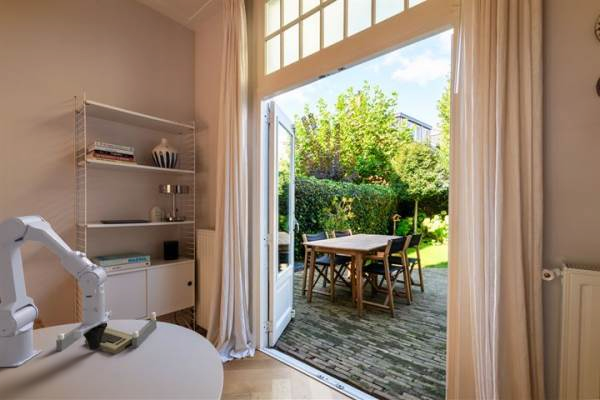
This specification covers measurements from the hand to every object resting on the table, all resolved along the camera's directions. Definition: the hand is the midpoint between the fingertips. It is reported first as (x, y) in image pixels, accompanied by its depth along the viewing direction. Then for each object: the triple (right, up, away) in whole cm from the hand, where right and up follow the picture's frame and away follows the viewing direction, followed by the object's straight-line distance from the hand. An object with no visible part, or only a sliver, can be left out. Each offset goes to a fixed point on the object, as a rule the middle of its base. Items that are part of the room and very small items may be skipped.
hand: (94, 348), depth 90 cm
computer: (+2, -2, +5) cm, 6 cm away
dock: (0, -1, +8) cm, 8 cm away
